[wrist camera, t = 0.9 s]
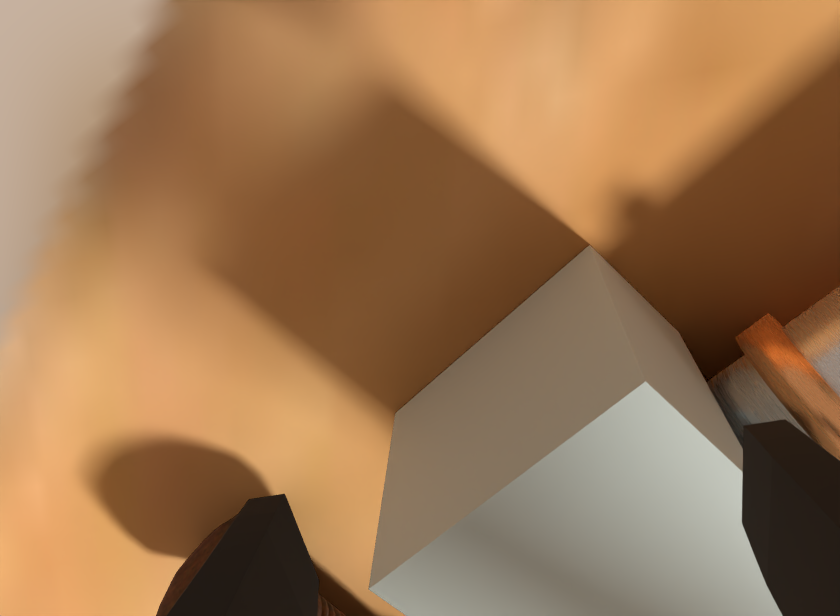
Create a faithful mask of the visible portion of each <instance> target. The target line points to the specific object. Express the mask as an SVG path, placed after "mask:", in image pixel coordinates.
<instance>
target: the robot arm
mask: <svg viewBox="0 0 840 616" xmlns="http://www.w3.org/2000/svg"><path fill="white" fill-rule="evenodd" d="M742 525H743V527H744V530H745V532H746V535H747V538H748V540H749V543H750V545H751V548H752V551H753V553H754V556H755V558H756V561H757V563H758V566H759V568H760V570H761V573H762V575H763V578H764V580H765V583H766V585H767V587H768V589H769V591H770V593H771V595H772V597H773V599H774V600H775V602H776V604H777V606H778V608H779V610H780V612H781V614H782V615H783V616H840V460H838V459H837V458H836V457H834V456H833V455H832V454H830V453H829V452H828V451H827V450H825V449H824V448H823V447H821V446H820V445H819V444H817V443H816V442H815V441H814V440H812V439H811V438H810V437H808V436H807V435H806V434H804V433H803V432H802V431H801V430H799V429H798V428H797V427H795V426H794V425H793V424H791V423H790V422H788V421H787V420H786V419H784V420H777V421H770V422H764V423H757V424H750V425H743V479H742ZM318 590H319V579H318V576H317V574H316V571H315V569H314V566H313V563H312V561H311V558H310V556H309V553H308V551H307V548H306V546H305V543H304V541H303V538H302V536H301V533H300V531H299V528H298V526H297V523H296V521H295V518H294V516H293V513H292V511H291V508H290V506H289V503H288V501H287V498H286V496H285V494H280V495H274V496H267V497H260V498H254V499H249V500H248V501H247V503H246V504H245V505H244V507H243V508H242V510H241V511H240V512H239V514H238V515H237V516H236V518H235V519H234V521H233V522H232V524H231V525H230V526H229V528H228V529H227V531H226V532H225V534H224V535H223V536H222V538H221V539H220V541H219V542H218V544H217V545H216V547H215V548H214V549H213V551H212V552H211V554H210V555H209V557H208V558H207V559H206V561H205V562H204V564H203V565H202V567H201V568H200V569H199V571H198V572H197V574H196V575H195V576H194V578H193V579H192V581H191V582H190V583H189V585H188V586H187V587H186V589H185V590H184V592H183V593H182V594H181V596H180V597H179V598H178V600H177V601H176V603H175V604H174V605H173V607H172V608H171V609H170V611H169V612H168V614H167V615H166V616H317V611H318Z"/></svg>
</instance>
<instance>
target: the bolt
mask: <svg viewBox="0 0 840 616" xmlns="http://www.w3.org/2000/svg"><path fill="white" fill-rule="evenodd" d="M236 516H237V515H236ZM236 516H235V517H233V518H232V519H230V520H229V521H227V522H225V523H224V524H222V525H221V526H219V527H218V528H217V529H215V530H214V531H213V532H212V533H211V534H210V535H209V536H208V537H207V538H206V539H205V540H204V541H203V542H202V543H201V544H200V545H199V546H198V548H197V549H196V550H195V551H194V552H193V553H192V554H191V555H190V557H189V558H188V559H187V560H186V561H185V562H184V564H183V565H182V566H181V567H180V569H179V570H178V571H177V572H176V574H175V576H174V578H173V580H172V582H171V584H170V586H169V588H168V590H167V592H166V594H165V596H164V598H163V600H162V602H161V604H160V606H159V609H158V612H157V615H156V616H166V615H167V614H168V612H169V611H170V609H171V608H172V607H173V605H174V604H175V603H176V601H177V600H178V598H179V597H180V596H181V594H182V593H183V592H184V590H185V589H186V587H187V586H188V585H189V583H190V582H191V581H192V579H193V578H194V576H195V575H196V574H197V572H198V571H199V569H200V568H201V567H202V565H203V564H204V562H205V561H206V559H207V558H208V557H209V555H210V554H211V552H212V551H213V549H214V548H215V547H216V545H217V544H218V542H219V541H220V539H221V538H222V536H223V535H224V534H225V532H226V531H227V529H228V528H229V526H230V525H231V524H232V522H233V521H234V519H235V518H236ZM317 616H346V615H345V614H344V613H342V612H341V611H340V610H338V609H337V608H336V607H335V606H334V605H332V604H331V603H330V602H328V601H327V600H326V599H325V598H323V597H322V596H321V595H319V594H318V611H317Z"/></svg>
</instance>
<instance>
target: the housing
mask: <svg viewBox="0 0 840 616" xmlns="http://www.w3.org/2000/svg"><path fill="white" fill-rule="evenodd" d="M742 479H743V449H742V447H741V445H740V443H739V441H738V440H737V438H736V436H735V434H734V432H733V430H732V429H731V427H730V425H729V423H728V421H727V419H726V418H725V416H724V414H723V412H722V410H721V408H720V407H719V405H718V403H717V401H716V399H715V398H714V396H713V394H712V392H711V390H710V388H709V387H708V385H707V383H706V381H705V379H704V377H703V376H702V374H701V372H700V370H699V368H698V366H697V365H696V363H695V361H694V359H693V357H692V356H691V354H690V352H689V350H688V348H687V346H686V345H685V343H684V341H683V339H682V337H681V335H680V334H679V332H678V331H677V330H676V329H675V328H674V327H673V326H672V325H671V324H670V323H669V322H668V321H667V320H666V319H665V318H664V317H663V316H662V315H661V314H660V313H659V312H658V311H657V310H656V309H655V308H654V307H652V306H651V305H650V304H649V303H648V302H647V301H646V300H645V299H644V298H643V297H642V296H641V295H640V294H639V293H638V292H637V291H636V290H635V289H634V288H633V287H632V286H631V285H630V284H629V283H628V282H627V281H626V280H625V279H624V278H623V277H622V276H621V275H620V274H619V273H618V272H617V271H616V270H615V269H614V268H613V267H612V266H611V265H610V264H609V263H608V262H607V261H606V260H605V259H604V258H603V257H602V256H601V255H600V254H599V253H598V252H597V251H596V250H595V249H594V248H592V247H591V246H590V245H589V246H588V247H586V248H585V249H584V250H583V251H582V252H581V253H580V254H578V255H577V256H576V257H575V258H574V259H573V260H571V261H570V262H569V263H568V264H567V265H566V266H565V267H563V268H562V269H561V270H560V271H559V272H558V273H556V274H555V275H554V276H553V277H552V278H551V279H550V280H548V281H547V282H546V283H545V284H544V285H543V286H541V287H540V288H539V289H538V290H537V291H536V292H535V293H533V294H532V295H531V296H530V297H529V298H528V299H526V300H525V301H524V302H523V303H522V304H521V305H520V306H518V307H517V308H516V309H515V310H514V311H513V312H511V313H510V314H509V315H508V316H507V317H506V318H505V319H503V320H502V321H501V322H500V323H499V324H498V325H496V326H495V327H494V328H493V329H492V330H491V331H490V332H488V333H487V334H486V335H485V336H484V337H483V338H481V339H480V340H479V341H478V342H477V343H476V344H475V345H473V346H472V347H471V348H470V349H469V350H468V351H466V352H465V353H464V354H463V355H462V356H461V357H460V358H458V359H457V360H456V361H455V362H454V363H453V364H451V365H450V366H449V367H448V368H447V369H446V370H445V371H443V372H442V373H441V374H440V375H439V376H438V377H436V378H435V379H434V380H433V381H432V382H431V383H430V384H428V385H427V386H426V387H425V388H424V389H423V390H421V391H420V392H419V393H418V394H417V395H416V396H415V397H413V398H412V399H411V400H410V401H409V402H408V403H406V404H405V405H404V406H403V407H402V408H401V409H400V410H398V411H397V412H396V413H395V418H394V425H393V431H392V438H391V445H390V451H389V458H388V464H387V471H386V477H385V484H384V491H383V497H382V504H381V510H380V517H379V524H378V530H377V537H376V543H375V550H374V556H373V563H372V570H371V576H370V583H369V590H370V591H372V592H373V593H375V594H376V595H377V596H379V597H380V598H382V599H383V600H384V601H386V602H387V603H389V604H390V605H392V606H393V607H394V608H396V609H397V610H399V611H400V612H402V613H403V614H404V615H406V616H783V615H782V614H781V612H780V610H779V608H778V606H777V604H776V602H775V600H774V599H773V597H772V595H771V593H770V591H769V589H768V587H767V585H766V583H765V580H764V578H763V575H762V573H761V570H760V568H759V566H758V563H757V561H756V558H755V556H754V553H753V551H752V548H751V545H750V543H749V540H748V538H747V535H746V532H745V530H744V527H743V525H742Z"/></svg>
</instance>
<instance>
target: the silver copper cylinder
mask: <svg viewBox="0 0 840 616" xmlns="http://www.w3.org/2000/svg"><path fill="white" fill-rule="evenodd" d="M736 341H737V343H738V345H739V346H740V348H741V350H742V351H743V353H744V354H745V355H743V356H742V357H740V358H739V359H738V360H736V361H735V362H734V363H732V364H731V365H729V366H728V367H727V368H725V369H724V370H722V371H721V372H720V373H718V374H717V375H716V376H714V377H713V378H711V379H710V380H709V381H707V382H706V383H707V385H708V387H709V388H710V390H711V392H712V394H713V396H714V398H715V399H716V401H717V403H718V405H719V407H720V408H721V410H722V412H723V414H724V416H725V418H726V419H727V421H728V423H729V425H730V427H731V429H732V430H733V432H734V434H735V436H736V438H737V440H738V441H739V443H740V445H741V447H742V449H743V425H750V424H757V423H764V422H770V421H777V420H784V419H786V420H787V421H788V422H790V423H791V424H793V425H794V426H795V427H797V428H798V429H799V430H801V431H802V432H803V433H804V434H806V435H807V436H808V437H810V438H811V439H812V440H814V441H815V442H816V443H817V444H819V445H820V446H821V447H823V448H824V449H825V450H827V451H828V452H829V453H830V454H832V455H833V456H834V457H836V458H837V459H838V460H840V286H839V287H837V288H836V289H835V290H833V291H832V292H830V293H829V294H828V295H826V296H825V297H824V298H822V299H821V300H819V301H818V302H817V303H815V304H814V305H812V306H811V307H810V308H808V309H807V310H806V311H804V312H803V313H801V314H800V315H799V316H797V317H796V318H794V319H793V320H792V321H790V322H789V323H788V324H786V325H785V326H782V325H781V324H780V323H779V322H778V321H777V320H776V319H775V318H774V317H773V316H771V315H770V314H769V313H768V314H766V315H765V316H764V317H762V318H761V319H759V320H758V321H757V322H755V323H754V324H753V325H751V326H750V327H749V328H747V329H746V330H745V331H743V332H742V333H740V334H739V335H738V336H736Z"/></svg>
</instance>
